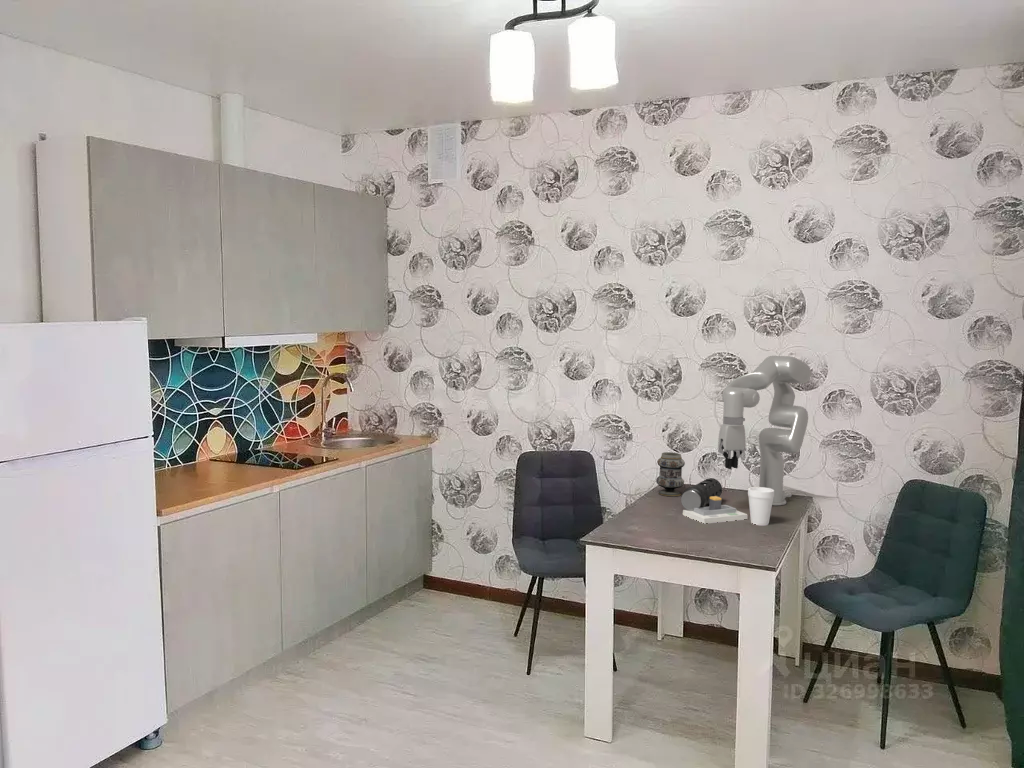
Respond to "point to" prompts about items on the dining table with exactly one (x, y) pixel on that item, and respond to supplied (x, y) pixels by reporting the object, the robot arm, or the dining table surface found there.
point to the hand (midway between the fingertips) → (731, 467)
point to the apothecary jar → (670, 473)
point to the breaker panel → (715, 514)
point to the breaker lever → (714, 503)
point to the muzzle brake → (700, 494)
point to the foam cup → (760, 504)
